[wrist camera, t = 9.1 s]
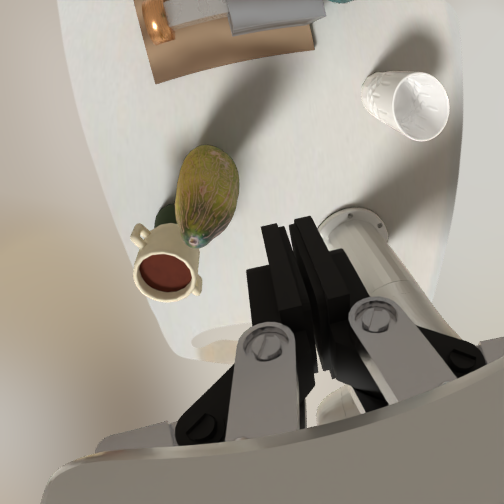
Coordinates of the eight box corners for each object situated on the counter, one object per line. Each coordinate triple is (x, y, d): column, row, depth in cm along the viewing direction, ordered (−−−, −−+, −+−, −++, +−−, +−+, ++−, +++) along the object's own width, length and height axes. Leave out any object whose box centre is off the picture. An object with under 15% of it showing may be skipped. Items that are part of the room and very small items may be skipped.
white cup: (404, 67, 34) (448, 73, 25) (408, 121, 38) (450, 139, 30) (352, 68, 34) (389, 71, 26) (359, 125, 38) (394, 144, 30)
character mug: (133, 211, 42) (106, 264, 32) (168, 178, 40) (148, 224, 30) (186, 259, 48) (178, 321, 37) (222, 232, 46) (222, 291, 35)
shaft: (297, 18, 28) (310, 10, 23) (160, 46, 29) (149, 43, 24) (287, -24, 25) (297, -37, 20) (150, 5, 26) (137, -4, 21)
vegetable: (181, 140, 38) (146, 205, 21) (229, 127, 37) (233, 181, 21) (194, 182, 41) (174, 273, 24) (240, 171, 41) (253, 256, 24)
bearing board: (312, 50, 33) (336, 46, 25) (157, 83, 33) (138, 88, 26) (288, -46, 25) (305, -72, 17) (132, -12, 26) (108, -31, 18)
